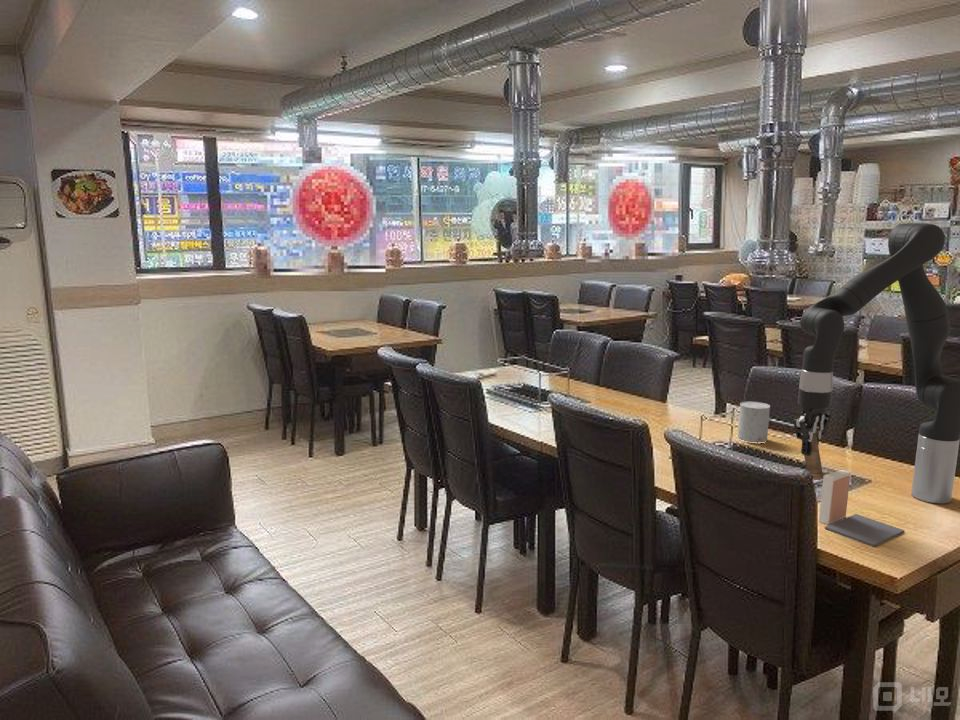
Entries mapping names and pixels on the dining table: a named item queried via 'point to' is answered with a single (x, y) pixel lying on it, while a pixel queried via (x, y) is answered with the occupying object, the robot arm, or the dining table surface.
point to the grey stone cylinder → (753, 421)
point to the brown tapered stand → (815, 460)
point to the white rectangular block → (834, 496)
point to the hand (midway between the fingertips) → (809, 453)
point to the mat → (864, 530)
